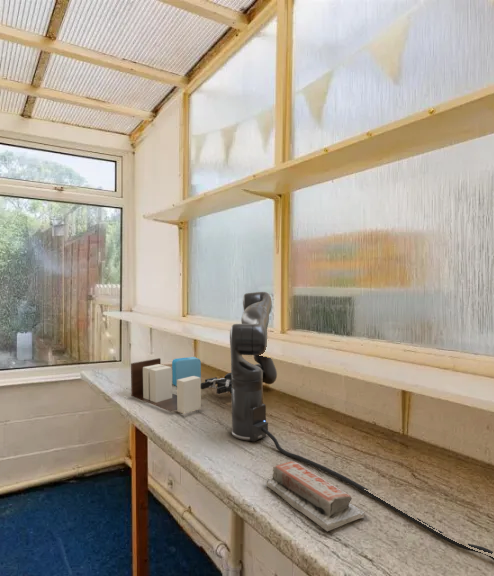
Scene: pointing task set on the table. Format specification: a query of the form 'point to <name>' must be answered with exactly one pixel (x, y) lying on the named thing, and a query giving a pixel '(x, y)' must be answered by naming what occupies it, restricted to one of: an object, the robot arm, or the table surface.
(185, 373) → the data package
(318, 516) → the packaged product
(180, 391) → the upright ivory block
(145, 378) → the white book
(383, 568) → the table surface
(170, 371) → the cream rectangular block
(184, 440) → the table surface
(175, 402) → the dark wood bookend
